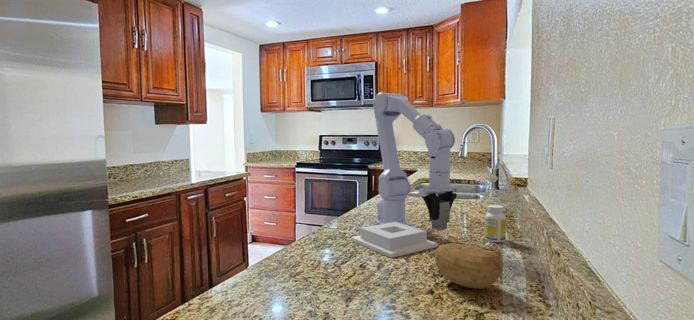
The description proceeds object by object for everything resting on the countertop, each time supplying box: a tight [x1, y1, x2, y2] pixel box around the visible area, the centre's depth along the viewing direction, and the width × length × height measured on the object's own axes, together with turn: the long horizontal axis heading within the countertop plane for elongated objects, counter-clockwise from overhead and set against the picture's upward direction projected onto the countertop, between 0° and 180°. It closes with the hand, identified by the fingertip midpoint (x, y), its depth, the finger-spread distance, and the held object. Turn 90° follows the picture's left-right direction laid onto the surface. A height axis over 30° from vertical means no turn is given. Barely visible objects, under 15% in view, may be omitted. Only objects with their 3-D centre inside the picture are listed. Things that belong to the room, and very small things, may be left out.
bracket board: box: [350, 222, 438, 259], centre depth 102 cm, size 18×16×4 cm
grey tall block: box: [428, 200, 451, 231], centre depth 106 cm, size 4×4×8 cm
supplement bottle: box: [484, 204, 507, 243], centre depth 104 cm, size 5×5×10 cm
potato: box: [433, 242, 504, 290], centre depth 74 cm, size 10×14×8 cm
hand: (439, 218), depth 106 cm, fingers closed on grey tall block, 4 cm apart
